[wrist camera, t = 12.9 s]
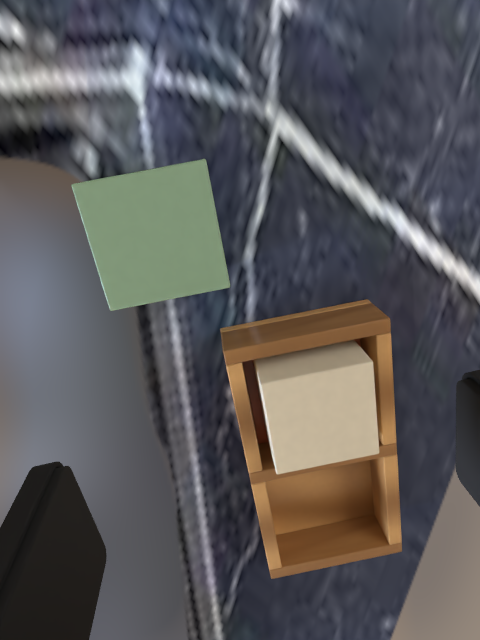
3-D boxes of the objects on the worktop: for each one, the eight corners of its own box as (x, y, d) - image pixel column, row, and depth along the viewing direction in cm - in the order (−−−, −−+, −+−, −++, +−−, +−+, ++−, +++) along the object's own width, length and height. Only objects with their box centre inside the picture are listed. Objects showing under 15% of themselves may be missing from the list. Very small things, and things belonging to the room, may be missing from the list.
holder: (220, 327, 24) (223, 351, 21) (367, 298, 24) (390, 317, 21) (264, 538, 29) (271, 579, 27) (382, 513, 30) (402, 551, 27)
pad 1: (91, 180, 20) (70, 184, 17) (204, 158, 21) (205, 158, 17) (123, 288, 22) (109, 311, 19) (225, 268, 22) (230, 287, 19)
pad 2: (251, 352, 23) (260, 384, 20) (348, 332, 24) (373, 361, 20) (266, 433, 25) (276, 475, 22) (356, 415, 26) (380, 454, 22)
